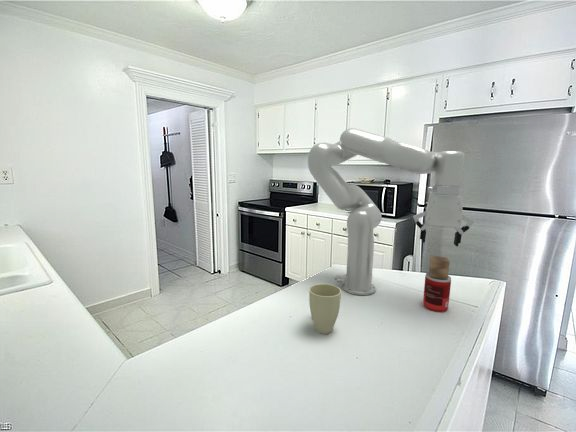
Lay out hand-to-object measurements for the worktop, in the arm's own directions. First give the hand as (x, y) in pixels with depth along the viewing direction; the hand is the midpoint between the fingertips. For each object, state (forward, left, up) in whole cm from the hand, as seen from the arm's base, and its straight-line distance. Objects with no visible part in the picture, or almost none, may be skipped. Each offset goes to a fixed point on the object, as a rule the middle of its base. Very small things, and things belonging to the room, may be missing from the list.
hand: (439, 243), depth 95 cm
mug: (-32, -26, -22) cm, 47 cm away
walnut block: (+1, 0, -11) cm, 11 cm away
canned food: (+1, 0, -22) cm, 22 cm away
